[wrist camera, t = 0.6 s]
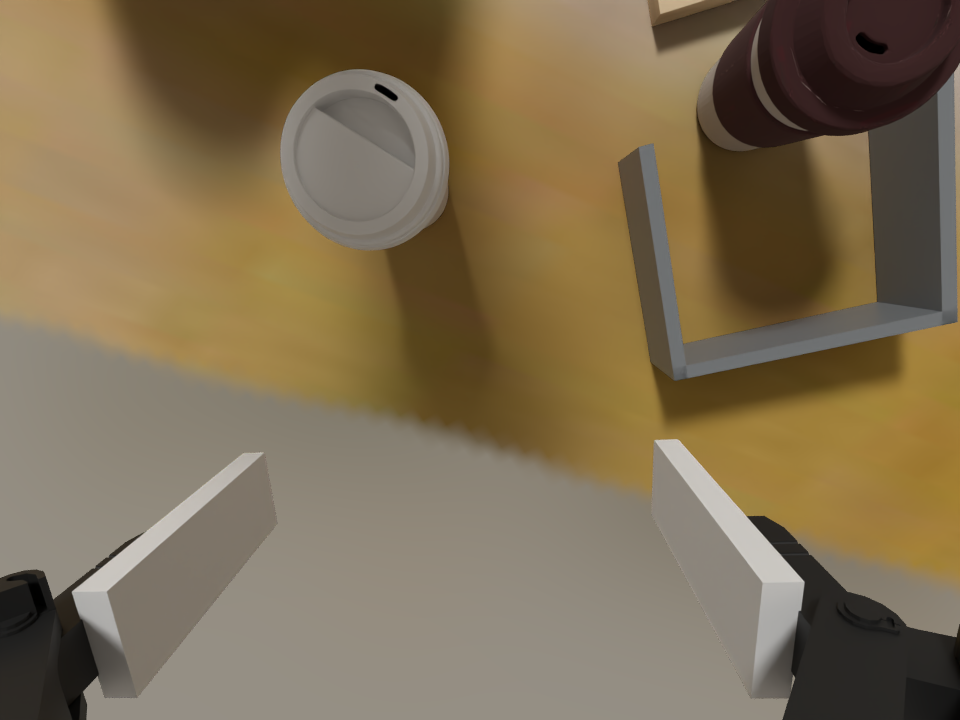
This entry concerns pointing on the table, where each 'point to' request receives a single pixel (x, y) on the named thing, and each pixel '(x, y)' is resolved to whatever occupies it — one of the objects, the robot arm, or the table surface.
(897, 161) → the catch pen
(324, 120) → the coffee cup
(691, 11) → the board
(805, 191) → the table surface
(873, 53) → the coffee cup
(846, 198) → the table surface
